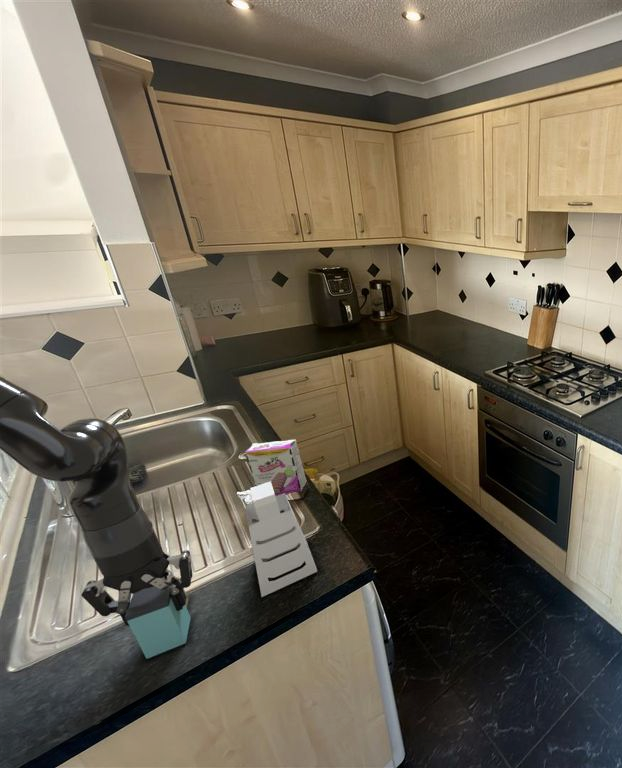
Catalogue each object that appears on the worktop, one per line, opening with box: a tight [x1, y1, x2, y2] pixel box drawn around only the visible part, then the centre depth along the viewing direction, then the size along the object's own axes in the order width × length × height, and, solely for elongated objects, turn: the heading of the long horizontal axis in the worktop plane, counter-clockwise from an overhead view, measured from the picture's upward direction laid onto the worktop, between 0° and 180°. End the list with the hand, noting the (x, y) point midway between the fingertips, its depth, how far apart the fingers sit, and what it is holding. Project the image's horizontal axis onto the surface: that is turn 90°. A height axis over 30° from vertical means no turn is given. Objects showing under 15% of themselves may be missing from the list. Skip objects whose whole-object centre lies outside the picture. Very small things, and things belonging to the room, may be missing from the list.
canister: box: [125, 586, 192, 660], centre depth 71 cm, size 6×11×11 cm
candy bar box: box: [244, 439, 308, 496], centre depth 109 cm, size 11×5×16 cm, turn 100°
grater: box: [244, 481, 318, 598], centre depth 84 cm, size 10×10×20 cm
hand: (159, 614), depth 71 cm, fingers closed on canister, 5 cm apart
